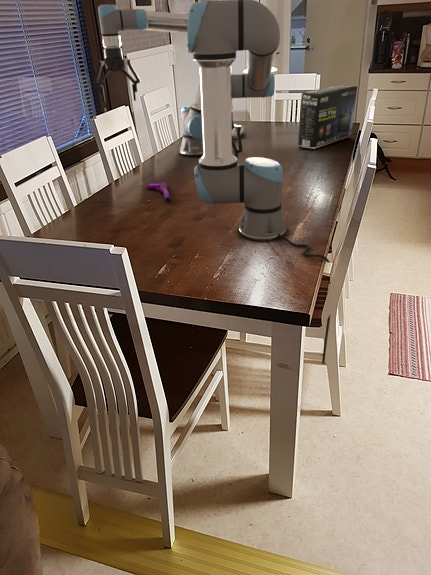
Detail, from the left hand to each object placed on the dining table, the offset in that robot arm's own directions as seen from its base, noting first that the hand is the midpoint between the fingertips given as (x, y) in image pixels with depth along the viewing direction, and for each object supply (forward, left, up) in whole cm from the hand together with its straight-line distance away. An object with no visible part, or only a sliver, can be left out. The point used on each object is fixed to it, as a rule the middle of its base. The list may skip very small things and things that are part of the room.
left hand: (119, 101), depth 204 cm
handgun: (+43, +9, -30) cm, 53 cm away
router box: (-5, +105, -30) cm, 109 cm away
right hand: (+46, +35, -22) cm, 62 cm away
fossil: (-41, +62, -30) cm, 80 cm away
